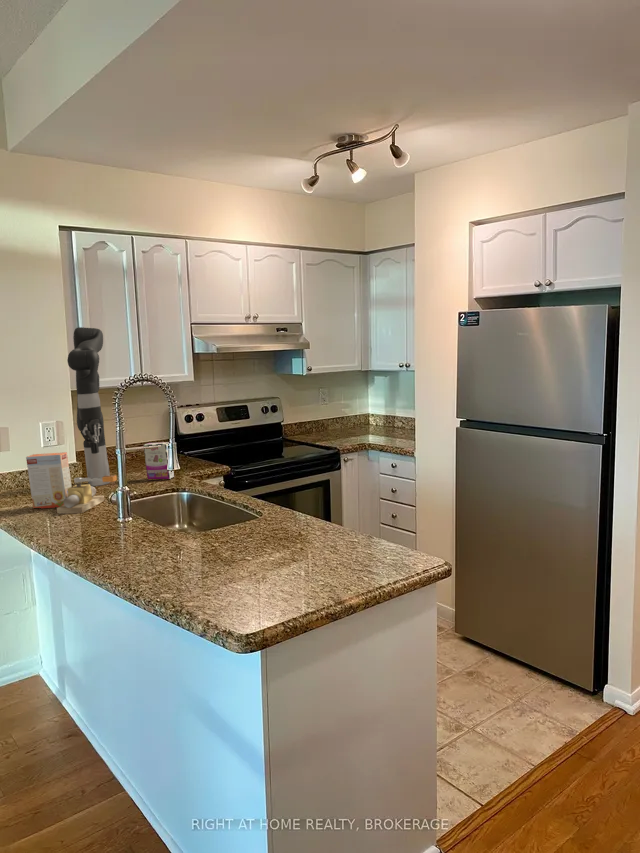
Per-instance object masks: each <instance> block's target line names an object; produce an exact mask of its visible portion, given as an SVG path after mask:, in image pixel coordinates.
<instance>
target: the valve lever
mask: <svg viewBox="0 0 640 853" xmlns="http://www.w3.org/2000/svg"><path fill="white" fill-rule="evenodd" d="M117 478H118V477H117V475H112V474H111V475H110V476H104V477H95V478H88V477H81V476H79V477H78V476H77V477H74V479H73V481H74V485H77V484H81V485H82V484H83V482H88V481H103V482H110V483H112V482H113V483H114V482H115V481H117V480H118V479H117Z"/></svg>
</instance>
